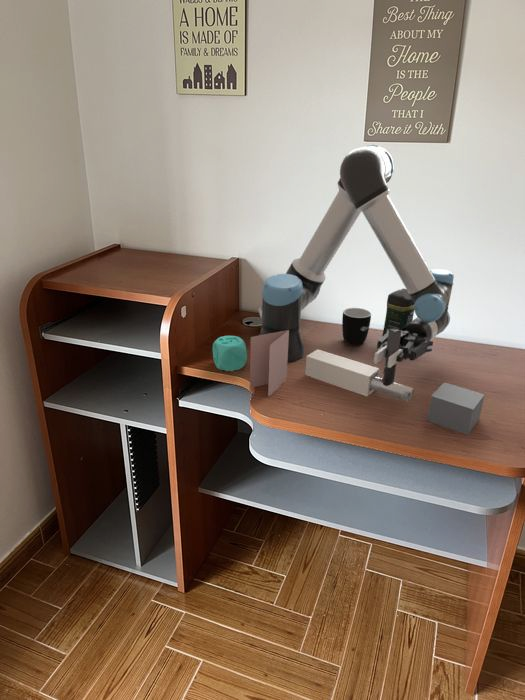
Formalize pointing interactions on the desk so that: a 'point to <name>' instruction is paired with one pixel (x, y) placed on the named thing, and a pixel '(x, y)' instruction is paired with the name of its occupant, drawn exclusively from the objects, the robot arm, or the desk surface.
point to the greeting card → (269, 360)
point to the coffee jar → (398, 311)
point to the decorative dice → (229, 353)
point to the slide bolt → (391, 372)
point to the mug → (355, 325)
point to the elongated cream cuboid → (340, 371)
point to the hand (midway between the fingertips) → (382, 360)
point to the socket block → (455, 408)
